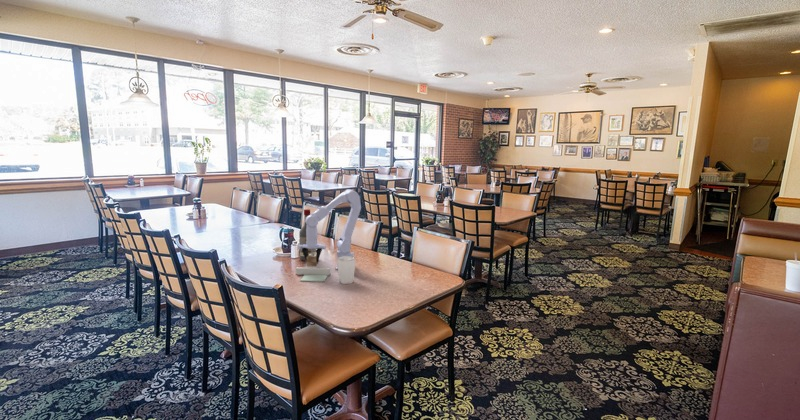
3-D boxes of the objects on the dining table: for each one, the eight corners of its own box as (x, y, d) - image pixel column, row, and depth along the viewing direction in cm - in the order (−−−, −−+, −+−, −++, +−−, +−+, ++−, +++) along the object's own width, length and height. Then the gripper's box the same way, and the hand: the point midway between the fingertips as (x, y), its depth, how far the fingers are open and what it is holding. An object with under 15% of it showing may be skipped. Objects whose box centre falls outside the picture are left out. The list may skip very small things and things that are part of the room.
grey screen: (330, 274, 200) (330, 268, 200) (330, 275, 199) (330, 268, 199) (296, 273, 200) (296, 267, 200) (296, 274, 199) (295, 268, 199)
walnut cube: (318, 263, 208) (317, 253, 207) (316, 266, 203) (315, 256, 202) (309, 263, 208) (308, 253, 207) (306, 265, 203) (306, 256, 202)
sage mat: (327, 276, 198) (327, 274, 198) (324, 281, 189) (324, 280, 189) (304, 275, 198) (304, 274, 198) (300, 281, 189) (300, 280, 189)
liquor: (299, 257, 231) (298, 208, 227) (314, 256, 234) (314, 208, 229) (300, 261, 223) (299, 211, 218) (316, 260, 225) (315, 210, 221)
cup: (358, 280, 193) (358, 257, 191) (350, 285, 184) (350, 262, 182) (342, 277, 195) (342, 255, 194) (334, 283, 187) (333, 260, 185)
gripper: (296, 238, 199) (297, 263, 201) (323, 239, 199) (324, 264, 201) (299, 235, 206) (300, 259, 208) (326, 236, 206) (326, 260, 208)
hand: (312, 261), depth 205 cm, fingers closed on walnut cube, 5 cm apart
